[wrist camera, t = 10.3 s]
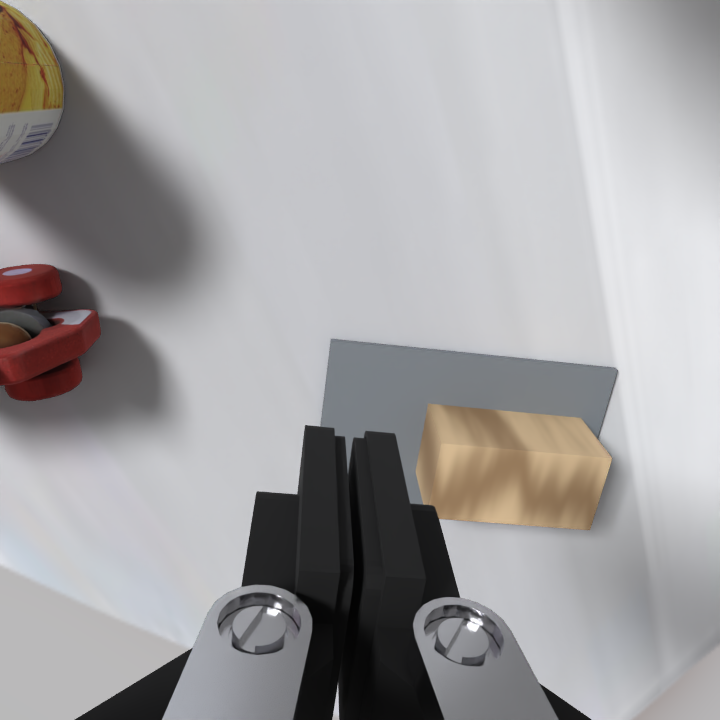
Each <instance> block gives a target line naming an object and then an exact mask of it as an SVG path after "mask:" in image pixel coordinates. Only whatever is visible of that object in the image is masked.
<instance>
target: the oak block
mask: <svg viewBox="0 0 720 720" xmlns="http://www.w3.org/2000/svg"><path fill="white" fill-rule="evenodd" d="M611 461H612V457H611V456H610V455H609V453H608V452H607V451H606V450H605V448H604V447H603V446H602V444H601V443H600V442H599V441H598V439H597V438H596V437H595V435H594V434H593V433H592V432H591V430H590V429H589V428H588V426H587V425H586V424H585V423H584V421H583V420H582V419H581V418H577V417H566V416H555V415H545V414H534V413H523V412H513V411H502V410H491V409H481V408H470V407H459V406H449V405H438V404H428V407H427V413H426V418H425V423H424V429H423V434H422V439H421V445H420V450H419V455H418V461H417V466H416V476H417V480H418V484H419V488H420V493H421V497H422V501H423V504H424V505H433V506H434V507H435V509H436V511H437V514H438V518H439V519H450V520H463V521H476V522H489V523H502V524H515V525H528V526H542V527H555V528H568V529H581V530H590V528H591V525H592V522H593V518H594V515H595V512H596V509H597V506H598V503H599V499H600V496H601V493H602V490H603V487H604V483H605V480H606V477H607V474H608V471H609V467H610V464H611Z"/></svg>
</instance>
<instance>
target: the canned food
mask: <svg viewBox="0 0 720 720" xmlns="http://www.w3.org/2000/svg"><path fill="white" fill-rule="evenodd" d="M64 93H65V87H64V82H63V77H62V72H61V67H60V64H59V62H58V60H57V58H56V56H55V53H54V51H53V49H52V47H51V45H50V43H49V42H48V41H47V39H46V38H45V37H44V35H43V34H42V33H41V31H40V30H39V29H38V27H37V26H36V25H35V24H34V23H33V22H31V21H30V20H29V19H28V18H27V17H26V16H24V15H23V14H22V13H21V12H20V11H19V10H17V9H16V8H14V7H12V6H10V5H8V4H6V3H4V2H2V1H0V164H1V163H5V162H9V161H13V160H16V159H19V158H22V157H25V156H28V155H31V154H32V153H34V152H35V151H36V150H38V149H39V148H41V147H42V146H43V145H45V144H46V143H47V142H48V140H49V139H50V137H51V136H52V135H53V133H54V132H55V131H56V129H57V127H58V125H59V122H60V119H61V116H62V113H63V110H64Z"/></svg>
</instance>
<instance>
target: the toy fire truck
mask: <svg viewBox="0 0 720 720" xmlns="http://www.w3.org/2000/svg"><path fill="white" fill-rule="evenodd" d="M61 291H62V285H61V281H60V277H59V273H58V271H57V269H56V268H55V267H54V266H51V265H45V264H31V265H21V266H14V267H7V268H3V269H0V385H4V386H5V390H6V392H7V394H8V395H9V396H10V397H11V398H13V399H16V400H21V401H36V400H42V399H46V398H51V397H55V396H58V395H61V394H64V393H66V392H69V391H71V390H72V389H74V388H75V387H76V386H78V385H79V384H80V382H81V381H82V371H81V367H80V362H79V359H78V357H79V356H81V355H82V354H84V353H86V351H87V350H88V349H89V348H90V347H91V346H92V345H93V343H94V342H95V341H96V340H98V338H99V337H100V335H101V328H100V323H99V317H98V313H97V312H96V311H95V310H91V309H78V310H65V311H51V312H49V311H39V310H38V311H37V306H36V303H40V302H43V301H46V300H48V299H51V298H55V297H57V296H58V295H59V294H60V293H61Z"/></svg>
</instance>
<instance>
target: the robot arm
mask: <svg viewBox="0 0 720 720" xmlns="http://www.w3.org/2000/svg"><path fill="white" fill-rule="evenodd" d="M337 685H338V689H339V720H591V719H590V718H588V717H587V716H586V715H584V714H583V713H581V712H580V711H578V710H577V709H575V708H574V707H573V706H571V705H570V704H568V703H567V702H565V701H564V700H563V699H561V698H560V697H558V696H557V695H555V694H554V693H553V692H551V691H550V690H548V689H547V688H545V687H544V686H542V685H541V684H540V683H539V682H538V680H537V678H536V676H535V675H534V673H533V671H532V669H531V667H530V665H529V663H528V661H527V660H526V658H525V656H524V654H523V652H522V650H521V648H520V646H519V645H518V643H517V641H516V639H515V637H514V635H513V633H512V631H511V630H510V629H509V627H508V626H507V624H506V623H505V622H504V620H503V619H502V618H501V617H499V616H498V615H497V614H496V613H495V612H493V611H492V610H491V609H489V608H487V607H485V606H483V605H481V604H479V603H477V602H474V601H471V600H467V599H464V598H460V596H459V592H458V588H457V585H456V581H455V577H454V573H453V570H452V566H451V562H450V559H449V555H448V551H447V548H446V544H445V540H444V537H443V533H442V529H441V525H440V522H439V518H438V514H437V511H436V509H435V507H434V506H433V505H424V504H411V503H410V500H409V496H408V491H407V486H406V482H405V477H404V472H403V467H402V463H401V458H400V453H399V449H398V444H397V439H396V435H395V433H386V432H375V431H365V434H364V438H356V437H354V438H353V442H352V449H351V456H350V463H349V470H347V455H346V441H345V436H335V430H334V428H330V427H319V426H307V425H305V431H304V439H303V448H302V457H301V467H300V476H299V485H298V494H297V495H296V494H283V493H270V492H258V491H257V493H256V498H255V505H254V511H253V517H252V523H251V530H250V536H249V542H248V549H247V555H246V561H245V568H244V574H243V580H242V586H241V587H240V588H237V589H235V590H232V591H230V592H228V593H226V594H225V595H223V596H222V597H221V598H219V599H218V600H217V601H215V603H214V604H213V606H212V607H211V609H210V610H209V612H208V613H207V616H206V618H205V621H204V623H203V625H202V628H201V630H200V632H199V635H198V637H197V639H196V642H195V644H194V646H193V648H192V649H190V650H188V651H187V652H185V653H183V654H182V655H180V656H178V657H177V658H175V659H174V660H172V661H170V662H169V663H167V664H165V665H164V666H162V667H161V668H159V669H157V670H156V671H154V672H152V673H151V674H149V675H147V676H146V677H144V678H142V679H141V680H139V681H137V682H136V683H134V684H133V685H131V686H129V687H128V688H126V689H124V690H123V691H121V692H119V693H118V694H116V695H115V696H113V697H111V698H110V699H108V700H107V701H105V702H103V703H101V704H100V705H98V706H97V707H95V708H93V709H92V710H90V711H88V712H87V713H85V714H83V715H82V716H80V717H78V718H77V719H75V720H332V717H333V711H334V704H335V698H336V692H337Z"/></svg>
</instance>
